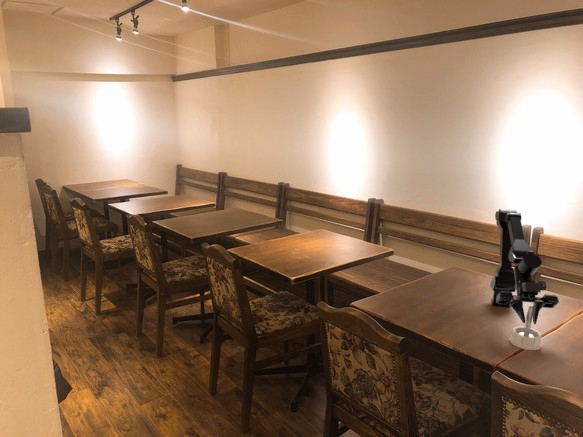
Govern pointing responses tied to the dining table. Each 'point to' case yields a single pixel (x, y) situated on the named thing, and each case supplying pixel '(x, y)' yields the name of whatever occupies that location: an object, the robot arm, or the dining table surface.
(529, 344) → the white pet bowl
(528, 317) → the screw
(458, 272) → the dining table surface
